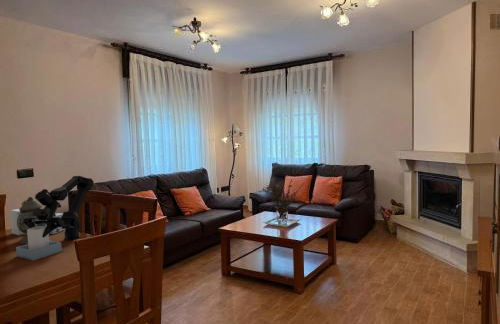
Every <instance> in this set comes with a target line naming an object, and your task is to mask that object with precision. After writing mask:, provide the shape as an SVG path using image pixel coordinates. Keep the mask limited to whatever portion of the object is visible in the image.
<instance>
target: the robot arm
mask: <svg viewBox="0 0 500 324" xmlns="http://www.w3.org/2000/svg"><path fill="white" fill-rule="evenodd" d="M94 185H95V182H94V180H93V179H92V178H88V177H84V176H82V175H73V176H72V177H71V178H70V179H69V180H68V181H67V182H65V183H64V184H63V185H62V186H60V187H57V188H55V189H52V190H50V191H49V190H48V189H45V188H43V189H41V191H38V192H37V193H36V194H34V195H35V196H34V199H35V201H36V202H38V203H39V204H40V205H41V206H44V208H40V209H33V213H32V215H34V216H37V217H36V218H37V219H38V220H35V219H34V218H25V219H24V220H23V223H24V224H26V225H27V226H28V227H30V228H33V227H35V226H37V225H38V224H47V227H46V229H45V231H44V233H43V236H42V237H43V238H44V237H45V236H47V235H48V234H49V233H50V232H52V231H53V230H54V229H56V228H58V227H62V229H65V230H64V238H63V240H65V241H66V240H67V241H73V240H76V239H79V238H81V236H80V232H79V231H80V228H82V222H81V221H80V220H79V218H80V217H79V214H78V213H79V212H80V209H81V207H82V204H83V202H84V199H85V197H86V195H87V193H89V191H91V189H92V188H93V186H94ZM75 187H76V188H77V191H76V193H75V196H74V197H73V200H72V203H71V205H70V207H69V209H68V210H67V211H64V212H63V215H62V217H61V218H60V217H55V216H56V214H55V213H57V209H59V208H62V205H61V202H62V201H64V200H66V198H67V197H68V196H69V195H68V194H69V192H71V191H72V190H73V189H74V188H75ZM60 201H61V202H60ZM49 235H50V234H49Z"/></svg>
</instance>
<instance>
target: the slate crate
mask: <svg viewBox="0 0 500 324" xmlns="http://www.w3.org/2000/svg"><path fill="white" fill-rule="evenodd" d="M49 243H50V246H47V247H44V248H41V249H37V250H34V251H32V250H29V249H28V243H26V244H25V245H20V246H16V248H15V249H16V251H15V252H16V257H18V258H21V259H24V260H25V259H26V260H29V261H33V262H34V261H37V260H39V259H42V258H45V257H49V256H51V255H54V254H55V255H56V254H58V253H62V251H63V250H62V248H63V247H62V242H57V241H53V240H49Z"/></svg>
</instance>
